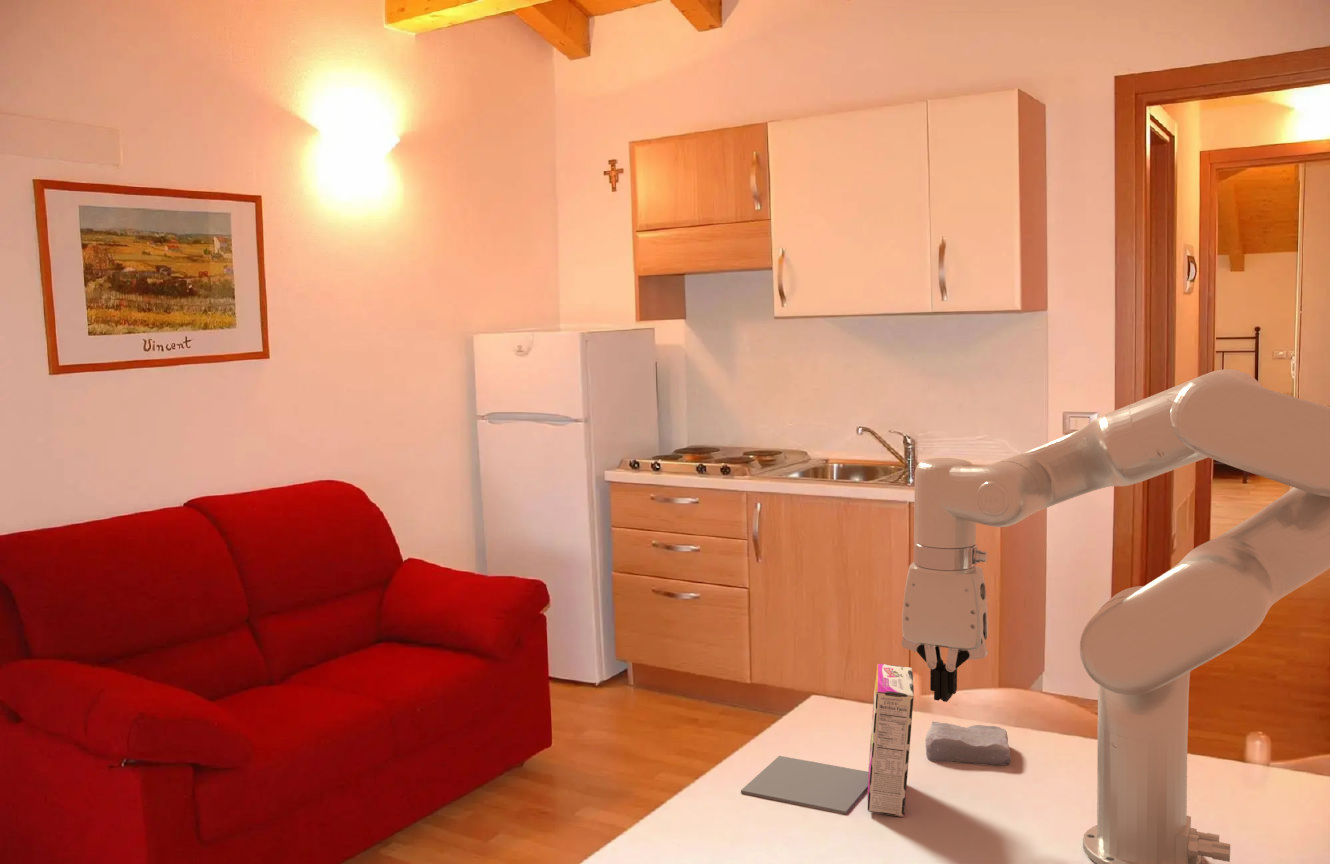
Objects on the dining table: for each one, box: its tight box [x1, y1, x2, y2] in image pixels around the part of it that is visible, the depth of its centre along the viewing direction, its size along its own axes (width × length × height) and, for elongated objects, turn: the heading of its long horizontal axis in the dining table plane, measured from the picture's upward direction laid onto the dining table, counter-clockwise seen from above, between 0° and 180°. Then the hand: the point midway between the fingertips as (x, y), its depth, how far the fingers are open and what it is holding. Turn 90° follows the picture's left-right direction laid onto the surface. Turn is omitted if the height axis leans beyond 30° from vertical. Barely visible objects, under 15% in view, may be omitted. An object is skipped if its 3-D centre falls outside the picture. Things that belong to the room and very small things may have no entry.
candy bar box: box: [867, 663, 915, 818], centre depth 142 cm, size 11×5×16 cm, turn 168°
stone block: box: [924, 721, 1012, 767], centre depth 158 cm, size 12×5×10 cm
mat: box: [740, 755, 868, 815], centre depth 148 cm, size 15×13×1 cm
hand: (943, 697), depth 138 cm, fingers closed
